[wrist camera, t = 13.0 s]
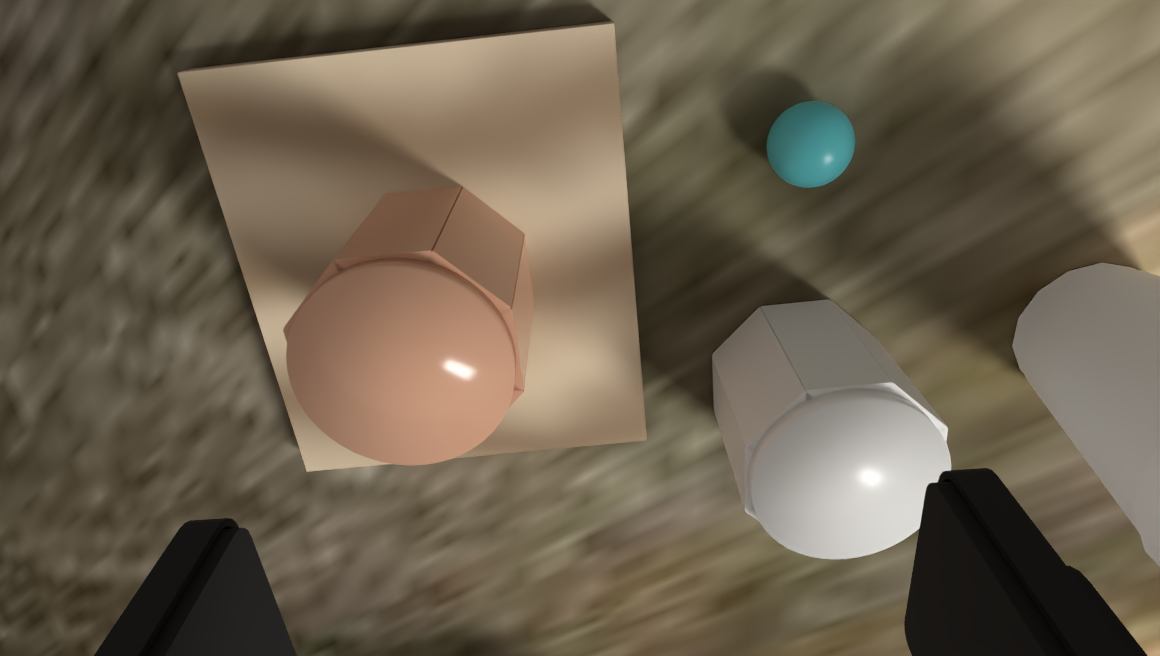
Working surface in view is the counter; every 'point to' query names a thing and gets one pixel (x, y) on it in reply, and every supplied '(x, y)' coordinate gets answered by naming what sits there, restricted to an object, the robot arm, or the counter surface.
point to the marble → (810, 144)
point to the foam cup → (1103, 378)
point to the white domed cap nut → (824, 431)
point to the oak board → (441, 160)
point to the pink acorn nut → (416, 329)
